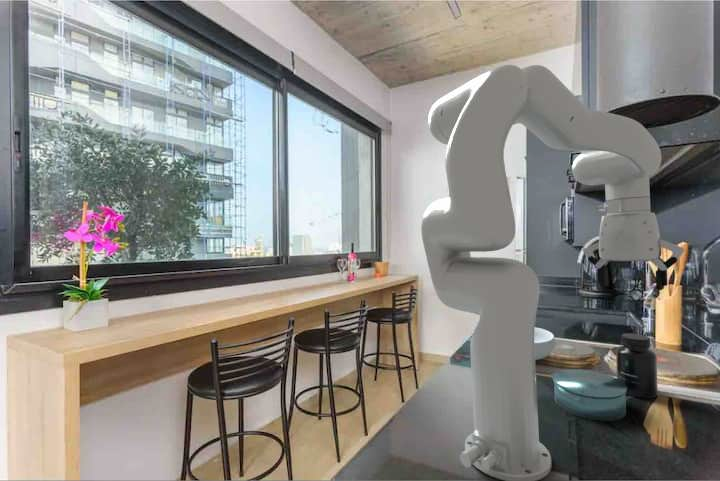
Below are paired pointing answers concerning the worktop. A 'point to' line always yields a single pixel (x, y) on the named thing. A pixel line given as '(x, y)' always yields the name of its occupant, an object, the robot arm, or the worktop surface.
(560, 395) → the biscuit tin
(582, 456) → the worktop surface
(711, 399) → the worktop surface
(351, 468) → the worktop surface
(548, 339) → the cereal bowl
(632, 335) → the supplement bottle
